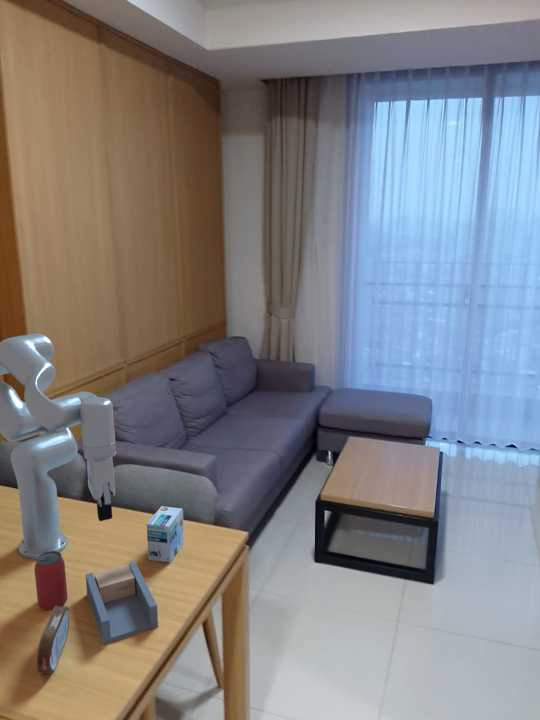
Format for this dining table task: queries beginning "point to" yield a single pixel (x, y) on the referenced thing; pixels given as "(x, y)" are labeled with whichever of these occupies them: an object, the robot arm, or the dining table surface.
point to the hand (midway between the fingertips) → (105, 518)
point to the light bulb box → (165, 534)
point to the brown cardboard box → (115, 583)
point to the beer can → (50, 580)
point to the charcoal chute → (123, 609)
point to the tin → (53, 640)
